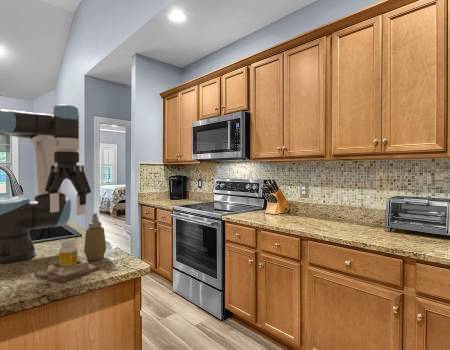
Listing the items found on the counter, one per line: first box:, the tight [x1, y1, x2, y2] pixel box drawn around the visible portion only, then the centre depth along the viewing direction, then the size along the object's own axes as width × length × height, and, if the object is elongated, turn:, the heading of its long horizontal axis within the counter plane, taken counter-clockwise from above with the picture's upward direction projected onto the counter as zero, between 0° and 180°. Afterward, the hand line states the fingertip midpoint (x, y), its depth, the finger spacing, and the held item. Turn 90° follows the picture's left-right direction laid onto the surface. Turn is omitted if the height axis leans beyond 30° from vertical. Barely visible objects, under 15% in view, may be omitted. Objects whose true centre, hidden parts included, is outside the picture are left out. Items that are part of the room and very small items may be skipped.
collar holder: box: [34, 258, 101, 284], centre depth 97 cm, size 14×14×3 cm
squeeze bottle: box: [83, 212, 107, 261], centre depth 111 cm, size 8×8×18 cm
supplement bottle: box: [58, 239, 78, 269], centre depth 97 cm, size 5×5×10 cm
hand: (67, 213), depth 96 cm, fingers open, 13 cm apart
